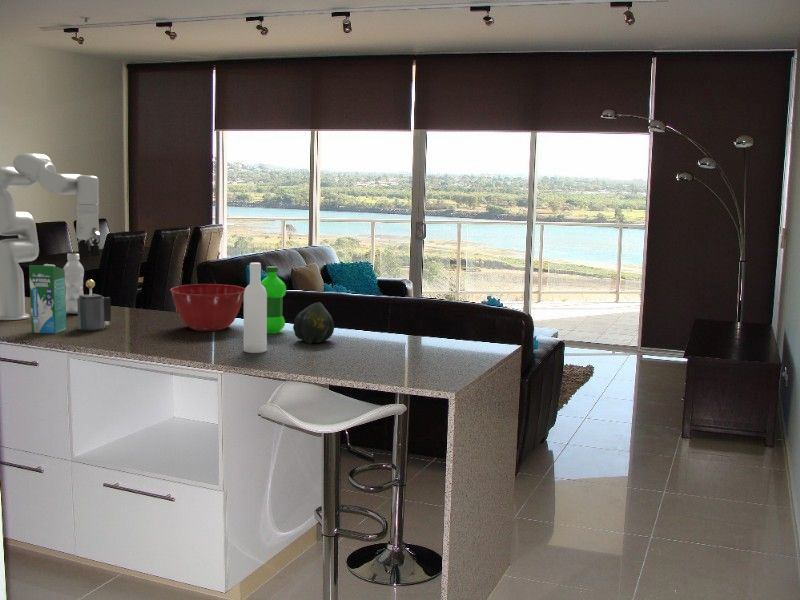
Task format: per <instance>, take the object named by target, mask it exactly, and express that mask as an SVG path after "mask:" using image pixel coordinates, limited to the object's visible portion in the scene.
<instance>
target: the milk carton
mask: <svg viewBox="0 0 800 600" xmlns="http://www.w3.org/2000/svg"><path fill="white" fill-rule="evenodd" d="M28 268H29V269H28V271H29V272H28V273H29V274H28V275H29V293H30V294H29V298H30V301H29V302H30V322H31V324H30V325H31V327H30V328H31V333H32V334H52V335H53V334H57V333H61V332H63V331H66V330H67V312H66V286H65V270H64V268H60V267H57V266H56V265H55V264H50V263H49V264H48V263H45V264H43V265H38V264H36V265H35V264H34V265H33V264H30V265H28Z"/></svg>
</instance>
